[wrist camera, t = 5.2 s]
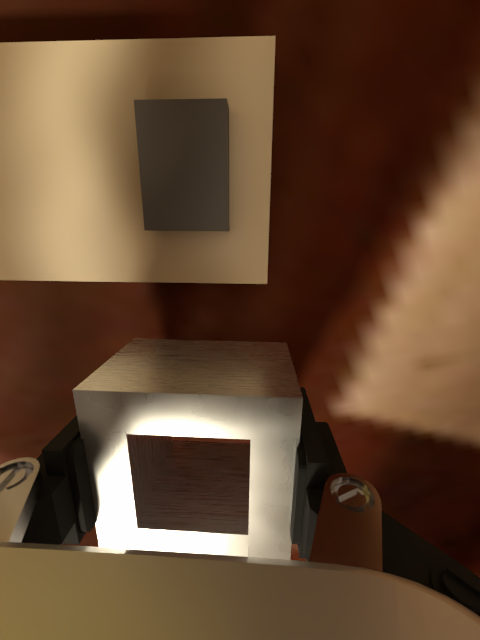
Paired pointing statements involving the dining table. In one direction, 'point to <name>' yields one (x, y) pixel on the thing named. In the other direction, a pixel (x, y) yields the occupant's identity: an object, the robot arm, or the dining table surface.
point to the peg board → (136, 159)
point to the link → (193, 446)
